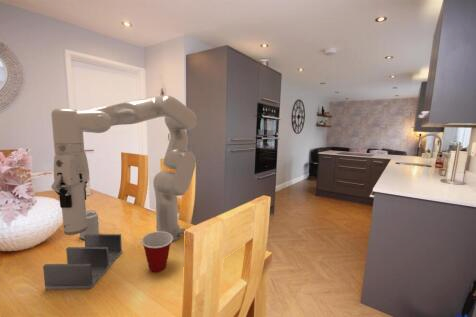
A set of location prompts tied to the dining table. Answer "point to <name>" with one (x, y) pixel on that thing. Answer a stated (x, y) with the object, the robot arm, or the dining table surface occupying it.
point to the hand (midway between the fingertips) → (74, 203)
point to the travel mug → (75, 211)
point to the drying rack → (84, 263)
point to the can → (91, 223)
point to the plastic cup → (157, 249)
